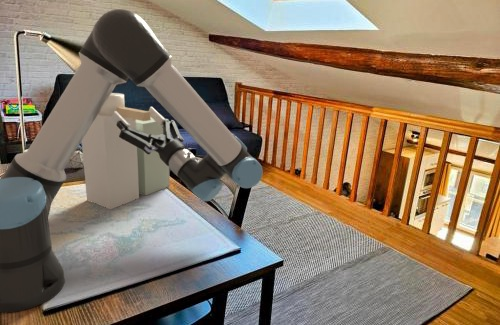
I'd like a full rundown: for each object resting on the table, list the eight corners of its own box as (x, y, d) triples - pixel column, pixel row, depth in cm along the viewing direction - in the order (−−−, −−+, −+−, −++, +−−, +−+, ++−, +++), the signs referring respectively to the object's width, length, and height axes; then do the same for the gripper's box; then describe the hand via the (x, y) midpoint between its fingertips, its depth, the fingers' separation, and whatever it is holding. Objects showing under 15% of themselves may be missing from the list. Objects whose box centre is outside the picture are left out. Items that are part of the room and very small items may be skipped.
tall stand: (139, 198, 126) (135, 113, 117) (110, 209, 116) (103, 117, 108) (116, 190, 132) (111, 108, 123) (87, 200, 122) (79, 112, 114)
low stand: (169, 186, 139) (168, 119, 131) (145, 195, 129) (143, 123, 121) (147, 179, 144) (145, 115, 137) (123, 187, 135) (119, 118, 127)
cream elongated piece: (157, 118, 110) (156, 99, 108) (136, 122, 103) (135, 101, 102) (114, 110, 120) (113, 92, 118) (92, 113, 113) (91, 94, 111)
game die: (82, 177, 153) (87, 162, 148) (60, 171, 150) (65, 156, 144) (86, 161, 160) (91, 147, 154) (65, 156, 156) (70, 141, 150)
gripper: (210, 140, 112) (166, 99, 118) (148, 157, 91) (100, 106, 97) (200, 158, 115) (159, 117, 121) (139, 178, 95) (93, 127, 101)
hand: (132, 112), depth 109 cm, fingers open, 13 cm apart
